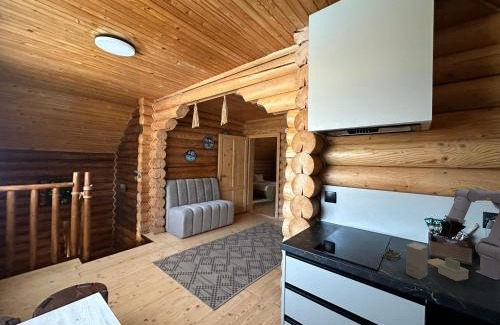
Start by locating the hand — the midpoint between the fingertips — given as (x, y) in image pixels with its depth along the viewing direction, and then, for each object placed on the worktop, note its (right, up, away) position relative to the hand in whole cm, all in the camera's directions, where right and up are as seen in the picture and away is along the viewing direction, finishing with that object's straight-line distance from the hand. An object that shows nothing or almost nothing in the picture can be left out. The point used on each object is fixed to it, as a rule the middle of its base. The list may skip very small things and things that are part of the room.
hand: (447, 235), depth 104 cm
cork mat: (+11, -22, +15) cm, 28 cm away
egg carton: (-11, -22, +24) cm, 34 cm away
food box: (+6, -22, +4) cm, 23 cm away
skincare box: (-12, -22, +4) cm, 25 cm away
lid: (+6, -18, +4) cm, 19 cm away
